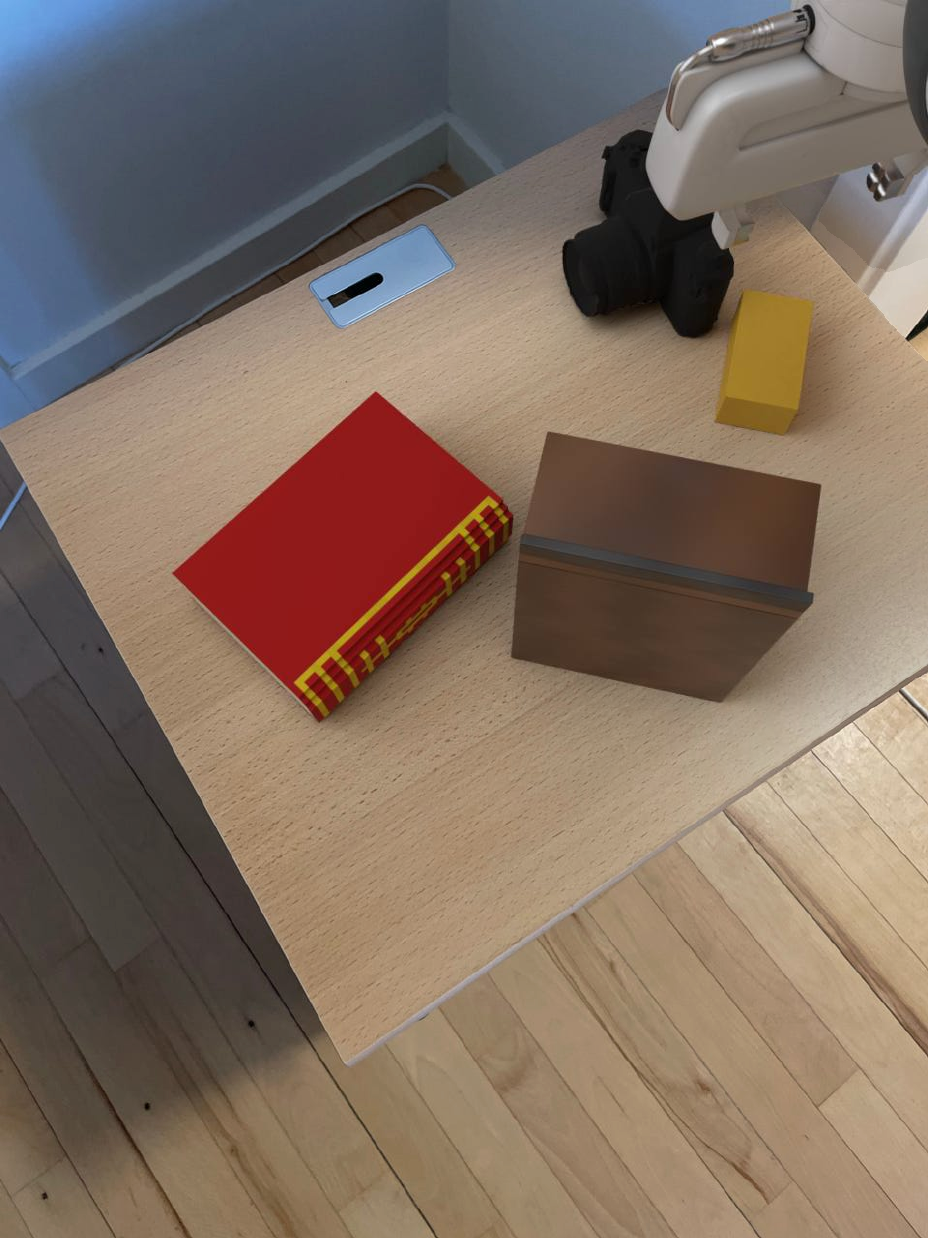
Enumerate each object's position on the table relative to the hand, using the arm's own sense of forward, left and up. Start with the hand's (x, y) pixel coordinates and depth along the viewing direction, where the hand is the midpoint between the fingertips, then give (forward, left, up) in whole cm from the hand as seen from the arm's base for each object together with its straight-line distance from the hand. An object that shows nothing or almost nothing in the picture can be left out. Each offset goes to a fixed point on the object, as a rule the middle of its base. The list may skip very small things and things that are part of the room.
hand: (806, 213), depth 55 cm
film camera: (+9, -7, -18) cm, 21 cm away
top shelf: (+4, +20, 0) cm, 21 cm away
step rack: (+4, +17, -18) cm, 25 cm away
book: (+23, +20, -18) cm, 35 cm away
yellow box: (-2, -1, -18) cm, 18 cm away
